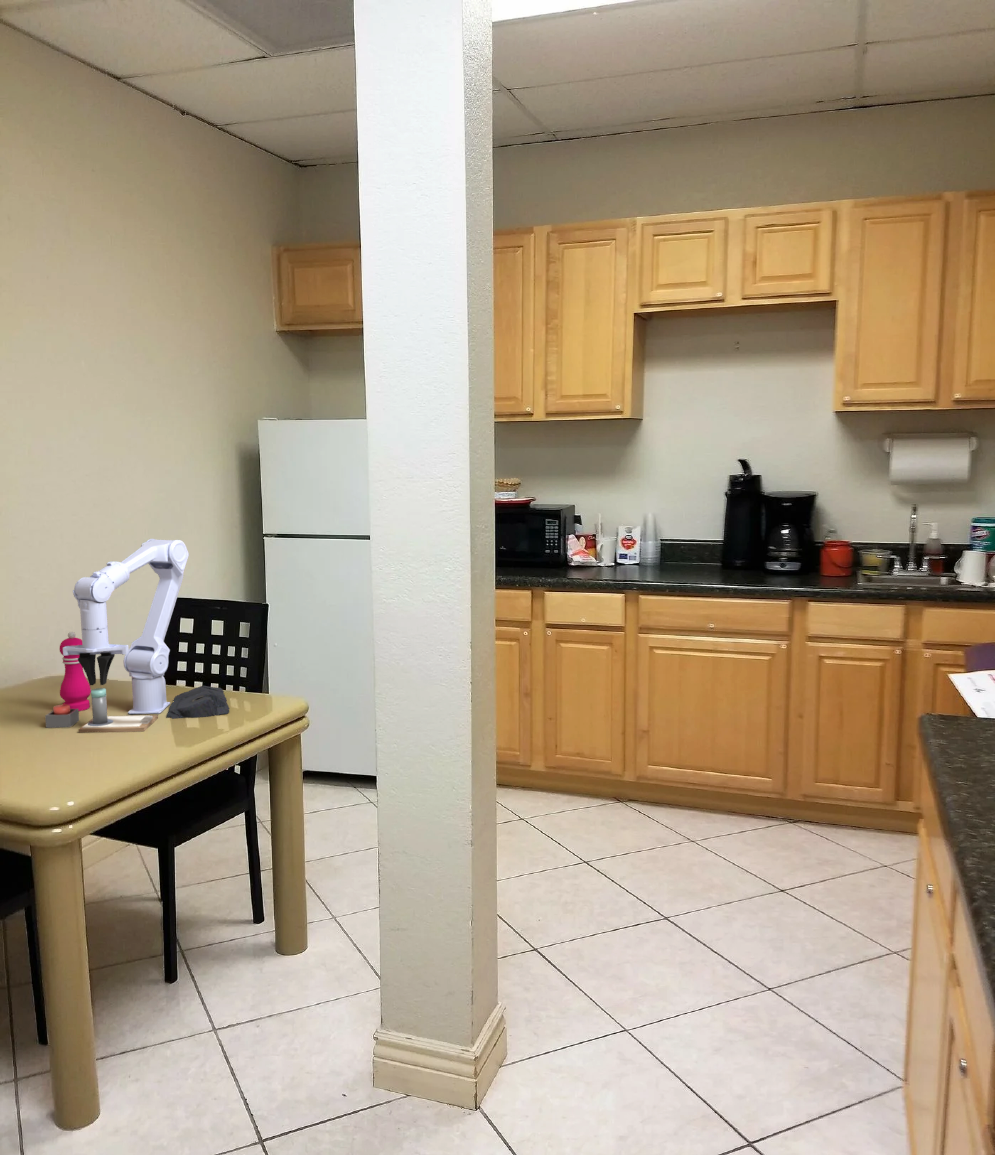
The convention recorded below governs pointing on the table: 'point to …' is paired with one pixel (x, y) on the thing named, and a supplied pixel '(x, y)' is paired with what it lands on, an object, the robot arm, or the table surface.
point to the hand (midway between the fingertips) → (98, 684)
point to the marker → (99, 706)
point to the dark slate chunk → (199, 703)
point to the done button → (61, 709)
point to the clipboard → (120, 724)
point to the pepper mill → (74, 678)
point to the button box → (62, 719)
